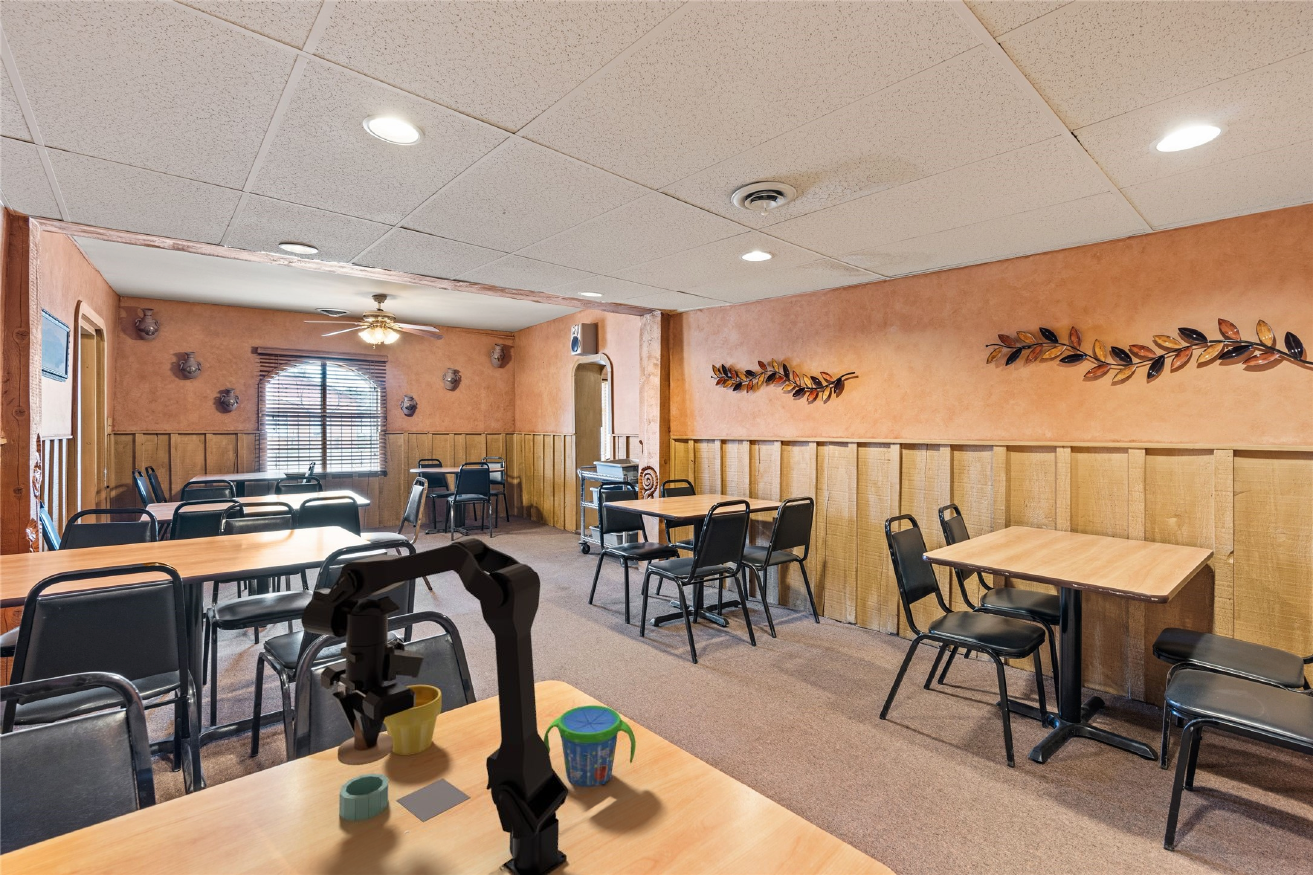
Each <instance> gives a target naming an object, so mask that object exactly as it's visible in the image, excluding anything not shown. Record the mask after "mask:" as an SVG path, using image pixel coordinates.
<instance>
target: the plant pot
mask: <svg viewBox="0 0 1313 875" xmlns="http://www.w3.org/2000/svg"><path fill="white" fill-rule="evenodd" d="M406 687H408V688H410V689H411V690H413V691H414V692H415V706H414V707H413V708H410V709H408V710H405V711H402V712H399V713H396V714H394V715H391V716H388V717H385V719H384V722H383V724H384V725H385V728H386V732H387V735H389V736H391V737H392V738H393V749H392V751H391V752H393V754H396V755H402V756H405V755H406V756H407V755H414V754H419V753H421V752H424V751H426V750H427V749H428V748H429V747H430V746H431V745H432V742H433V739H434V738H433V737H434V732H435V727H436V723H437V718H438V716H439V715H440V713H442V704H443V703H442V700H443V699H442V697H443V696H442V691H441V690H440V689H439V688H438V687H435V686H432V685H427V684H416V685H415V684H414V685H407V686H406Z"/></svg>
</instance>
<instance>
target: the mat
mask: <svg viewBox="0 0 1313 875" xmlns="http://www.w3.org/2000/svg"><path fill="white" fill-rule="evenodd" d="M469 799H471V796H469V795H468V794H466V793H465V792H464V791H462V790H460V789H459V788H458V787H456V786H455V785H454V784H452V783H451V782H449V781H447V780H446V779H445V778H440V779H438V780H437V781H434V782H432V783H429V784H428V785H426V786H423V787H421V788H419V789H417V790H414V791H412V792H411V793H408V794H406V795H404V796H402V797H400V798H397V799H396V801H395V802H398V803H399V804H400V805H401V806H403V808H405V809H406V810H408V812H410V813H411V814H412V815H413V816H415V817H416V818H417V819H419V820H420V821H421V822H422V823H424V822H426V821H428V820H430V819H432V818H434V817H436V816H438V815H440V814H442V813H444V812H446V811H448V810H449V809H451V808H454V807H456V806H458V805H460V804H461V803H463V802H465V801H467V800H469Z"/></svg>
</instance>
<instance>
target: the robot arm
mask: <svg viewBox="0 0 1313 875" xmlns="http://www.w3.org/2000/svg"><path fill="white" fill-rule="evenodd" d="M451 571H453V572H455V573H456V574H457V575H458V577H459V578H460V581H461V583H462V586H463V587H464V589H465V590H466V591H467V593H469V594H470V595H472V596H473V597H475V599H477V600H478V601H479V605H480V609H481V614H482V618H483V621H484V622H485V623H486V625H487V627H488V628H489V630H490V631H491V632H492V634H493V636H494V645H495V661H496V662H495V663H496V673H497V674H496V675H497V676H496V678H497V692H498V694H497V695H498V708H499V723H500V724H499V725H500V737H501V739H500V745H499V747H498V748H497V749H496V750H495V751H493V752H492V753H491V754H490V755H488V757H486V761H485V762H486V764H485V765H486V766H485V767H486V771H487V777H488V778H487V785H486V790H487V791H488V790H490V795H491V800H492V802H493V804H494V805H495V806H496V807H495V808H496V810H497V814H498V818H499V822H500V825H501V830H502V831H503V832H505V833H508V834H509V851H510V855H511V856H512V858H511V859H509V860H507V861H505V862H504V863H503V864H502V866H504V867H505V868H506V869H507V870H508V871H510V872H511V873H513V875H548V874H549V873H551V872H552V871H554V870H555V869H556V868H558V867H559V866H561V865H562V864H564V863H565V862H566V861H567V860H568V858H567V854H565V853H564V852H563V851H561V850H560V849H559V830H560V828H559V824H560V822H559V821H560V820H559V819H558V818H557V811H558V810H559V809H560V807H561V806H563V805H564V804H565V803H566V800H567V796H568V795H569V788H568V787H567V786H566V784H565V783H564V782H563V780H562V779H561V777H559V775H558V773H557V772H556V771H555V770H554V768H553V765H552V761H551V757H550V756H551V754H550V753H549V751H548V747H547V746H546V744H545V743H544V739H543V738H542V737H541V735H540V734H539V731H538V722H537V721H538V719H537V706H536V691H535V690H536V688H535V677H534V676H535V674H534V660H533V647H532V645H533V644H532V627H533V624H534V621H535V618H536V615H537V612H538V609H539V605H540V593H541V579H540V576H539V574H538V572H537V571H535V570H534V569H533V568H532V567H531V566H529V565H528V564H527V563H521V562H520V561H518V560H517V559H516V558H514V557H513V556H512V555H508V554H507V553H504V552H501V550H497V549H494V548H493V547H491V546H489V545H488V544H487V543H485V542H484V541H482V540H481V539H479V538H476V537H469V538H466V539H461V540H457V541H454V542H452V543H450V544H448V545H445V546H440V547H436V548H432V549H428V550H424V551H420V552H415V553H412V554H407V555H399V554H377V555H373V556H370V557H366V558H362V559H357V560H352V561H348V562H346V563H344V564H343V566H341V571H340V575H339V576H338V578H337V579H336V580H335V582H334V584H333V586H332V587H331V588H326V587H324V588H320V589H317V590H314V591H313V594H312V595H313V598H312V599H310V600H309V602H308V603H307V604H306V605H305V608H303V609H304V610H303V613H302V614H301V618H300V621H301V625H302V628H303V629H304V630H305V631H306V632H308V633H313V634H318V635H323V636H330V637H335V638H344V637H345V647H341V648H340V656H342V657H343V658H345V661H341V662H337V663H334V664H329V665H326V667H325V668H324V669H323V670H322V672H321V673H320V686H321V687H323V688H325V689H326V690H330V689H332V688H333V687H334V686H335V684H337V691H336V692H334V693H332V698H333V699H334V700H335V702H336V703H337V705H338V707H339V709H340V711H341V714H343V717H344V718H345V720H346V722H347V724H348V726H349V728H350V730H351V732H352V734H353V735H354V723H355V719H357V721H358V724H359V727H360V730H361V732H362V735H363V738H364V741H365V743H366V746H367V747H368V748H371V747H373V746H375V745H376V742H377V739H378V736H379V733H381V730H382V727H383V724H384V723H383V722H384V719H385V717H388V716H391V715H394V714H396V713H399V712H402V711H405V710H408V709H410V708H413V707H414V706H415V692H414V691H413V690H411V689H410V688H408V687H407V686H406V685H405V684H402V683H401V682H398V681H397V682H395V683H392V684H387V685H385V682H388V683H389V682H392V681H396V680H397V676H403V677H405V676H407V677H411V678H415V679H416V678H419V677H420V676H419V675H420V674H421V673H420V672H421V670H422V668H423V667H422V666H423V663H424V661H425V656H423V655H421V654H419V653H416V652H414V651H412V650H409V649H405V643H403V642H401V641H398V640H391V641H390V642H389V641H388V633H389V632H388V631H389V630H388V627H389V626H388V624H389V615H390V614H393V613H396V612H399V611H400V609H401V608H400V606H399V604H398V603H397V602H395V601H394V600H392V598H391V597H390V596H389V595H386V596H383V597H380V598H377V599H374V598H371V599H370V598H369V597H371V596H376V595H378V594H381V593H385V592H388V591H390V590H392V589H395V588H396V587H398V586H400V585H402V584H404V583H405V582H407V581H412V580H416V579H421V578H424V577H430V576H433V575H434V576H435V575H437V574H442V573H446V572H451ZM365 598H366V599H365ZM359 600H361V601H359ZM388 642H389V643H388Z"/></svg>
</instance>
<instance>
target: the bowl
mask: <svg viewBox="0 0 1313 875" xmlns="http://www.w3.org/2000/svg"><path fill="white" fill-rule="evenodd" d="M389 782H390V781H389V778H388V777H387V776H386V775H384V774H382V773H373V772H372V773H368V774H360V775H358V776H355V777H353V778H350V779H348V780H347V781H346V782H345V783H343V784H342V785H341V787H340V790H339V800H338V802H339V803H338V804H339V807H338V808H339V809H338V810H339V811H338V812H339V814H338V815H339V816H340V817H341V819H343V820H345V821H350V822H359V821H360V822H361V821H366V820H368V819H371V818H373V817H376V816H378V815H380V814H382V812H383V811H384V810H385V809H386V808H387V807H388V804H389Z"/></svg>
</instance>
